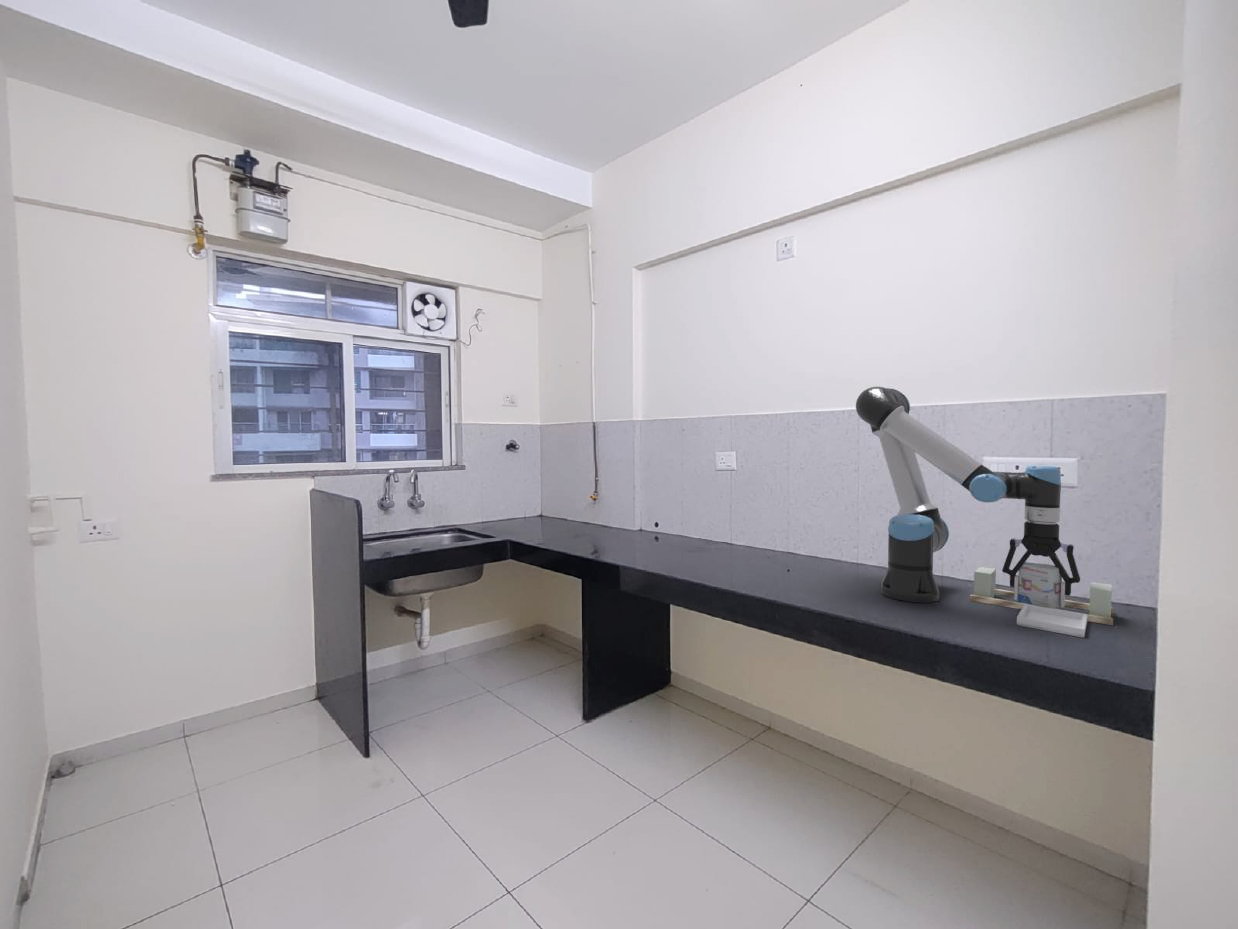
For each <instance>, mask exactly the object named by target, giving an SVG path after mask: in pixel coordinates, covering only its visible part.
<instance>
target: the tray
mask: <svg viewBox="0 0 1238 929" xmlns="http://www.w3.org/2000/svg"><path fill="white" fill-rule="evenodd" d="M1064 610H1065V609H1061V610H1059V609H1053V608H1047V607H1041V606H1035V605H1029V604H1024V606H1023V608H1022V609H1020V611H1019V613H1017V614H1018V615H1017V616H1016V626H1019V627H1020V626H1021V627H1025V628H1032V629H1036V630H1040V631H1041V630H1042V631H1047V632H1051V633H1057V634H1062V635H1067V636H1073V637H1078V638H1083V639H1084V638H1085V636H1086V630H1087V624H1088V621H1087V615H1088V614H1089V613H1084V614H1082V613H1083V612H1079V613H1076V612H1077V611H1073V612H1070V611H1071V610H1067V611H1064Z"/></svg>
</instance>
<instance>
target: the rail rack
mask: <svg viewBox="0 0 1238 929" xmlns="http://www.w3.org/2000/svg"><path fill="white" fill-rule="evenodd" d="M995 596H1000V597H1007V598H1012V599H1014V591H1011V590H1005V589H999V588H995ZM969 601H970V602H977V603H982V604H988V605H994V606H998V607H1004V608H1011V609H1012V608H1013V609H1017V610H1021V609H1022V608H1023V606H1024V604H1025V603H1019V602H1018V601H1014V600H1013V601H1012V600H1008V599H1007V600H1005V599H1000V598H995V597H994V598H989V597H983V596H977V595H974V594H969ZM1029 605H1031V604H1029ZM1089 605H1090V602H1088V603H1087V602H1082V601H1077V600H1075V601H1074V600H1068V599H1065V607H1070V608H1073V609H1080V610H1086V611H1089ZM1035 606H1037V605H1035ZM1041 607H1043V606H1041ZM1047 608H1049V607H1047ZM1053 609H1055V608H1053ZM1059 610H1062V608H1061V609H1059ZM1063 610H1064V611H1068V610H1066V609H1063ZM1069 611H1070V612H1074V611H1072V610H1069ZM1075 612H1076V613H1080V611H1079V612H1077V611H1075ZM1081 613H1082V614H1085V613H1083V612H1081ZM1087 614H1088V615H1087V622H1091V623H1098V624H1103V625H1109V626H1113V625H1114V618H1113V617H1111V618H1108V617H1102V616H1096V615H1090V614H1089V613H1087ZM1111 615H1114V607H1112V606H1111Z"/></svg>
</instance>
